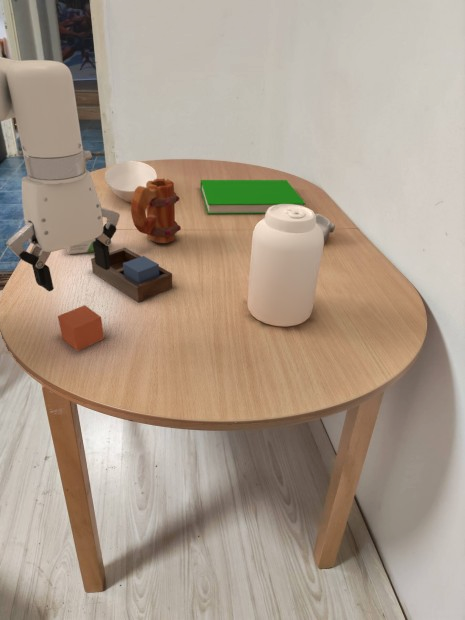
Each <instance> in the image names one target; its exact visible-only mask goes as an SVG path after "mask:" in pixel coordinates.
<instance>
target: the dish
mask: <svg viewBox="0 0 465 620" xmlns="http://www.w3.org/2000/svg"><path fill="white" fill-rule="evenodd" d="M315 216H316V223H317V225H318V226H319V227H320V228H321V229H322V232H323V237H324V243H325V242H326V241H327V240H328V238H329V235H330V233H334V232H335V228H336V224H335V223H331V220H330V219H329V218H327V217H326V216H324V215H322V214H320V213H315Z"/></svg>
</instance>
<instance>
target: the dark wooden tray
mask: <svg viewBox="0 0 465 620" xmlns="http://www.w3.org/2000/svg"><path fill="white" fill-rule="evenodd" d="M109 254H110V261H109V264H110V269H108V270H105V269H103V268H101V267H100V266H98V265H96V263H95V257H92V258H91V259H90V260H91V261H90V262H91V269H92V274H94V275H96V276H97V277H99V278H100V279H102V280H103V281H105V282H107V283H108V284H109V285H110V286H112V287H114V288H116V289H117V290H119V291H121V292H122V293H124V294H125V295H127V296H128V297H130V298H131V299H133V300H134V301H136V302H137V303H140V302H143V301H145V300H148V299H150V298H152V297H155V296H157V295H159V294H161V293H164V292H166V291H168V290H170V289H173V273H172V272H171V271H169V270H167V269H165V268H163V267H161V266H159V276H158V277H155V278H153V279H150V280H148V281H145V282H143V283H140V284H137V283H136V282H134V281H133V280H131V279H129V278H128V277H126V276H124V269H123V263H125V262H128V261H131V260H133V259H136V258H139V257H142V256H141V255H139V254H138V253H136V252H134V251H132V250H131V249H129V248H127V247H123V248H119V249H117V250H113V251H109Z"/></svg>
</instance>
